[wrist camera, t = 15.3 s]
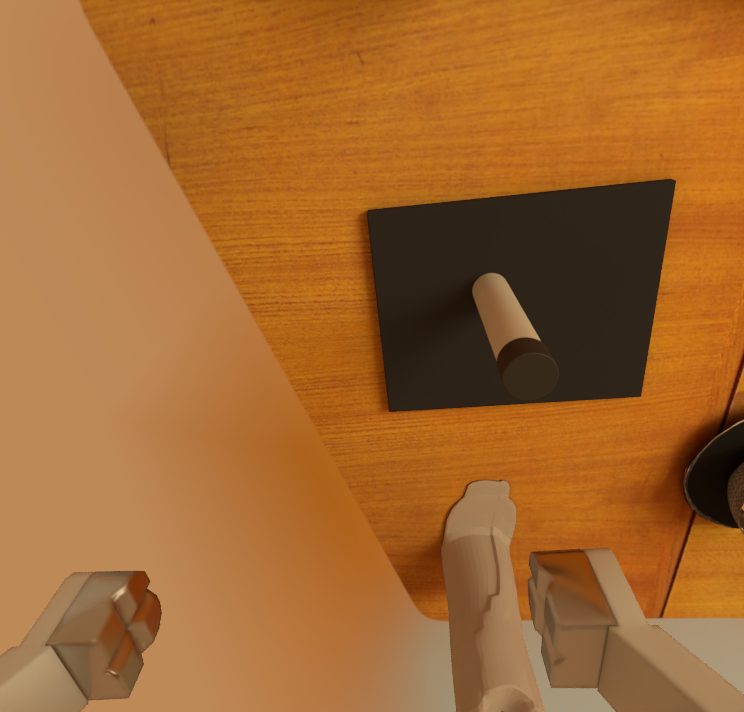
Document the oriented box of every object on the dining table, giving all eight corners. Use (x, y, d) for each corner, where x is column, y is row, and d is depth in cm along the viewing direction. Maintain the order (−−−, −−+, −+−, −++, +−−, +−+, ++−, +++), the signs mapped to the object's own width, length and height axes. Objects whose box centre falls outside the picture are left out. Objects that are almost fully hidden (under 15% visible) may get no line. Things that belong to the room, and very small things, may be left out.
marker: (471, 308, 40) (502, 402, 27) (470, 273, 38) (502, 354, 26) (509, 305, 39) (557, 398, 27) (509, 269, 38) (560, 350, 26)
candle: (526, 481, 49) (597, 699, 31) (501, 576, 55) (547, 801, 37) (453, 475, 49) (482, 689, 31) (437, 570, 55) (453, 792, 38)
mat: (389, 407, 46) (389, 412, 45) (367, 209, 37) (366, 212, 37) (637, 392, 43) (641, 397, 43) (671, 178, 35) (676, 180, 34)
